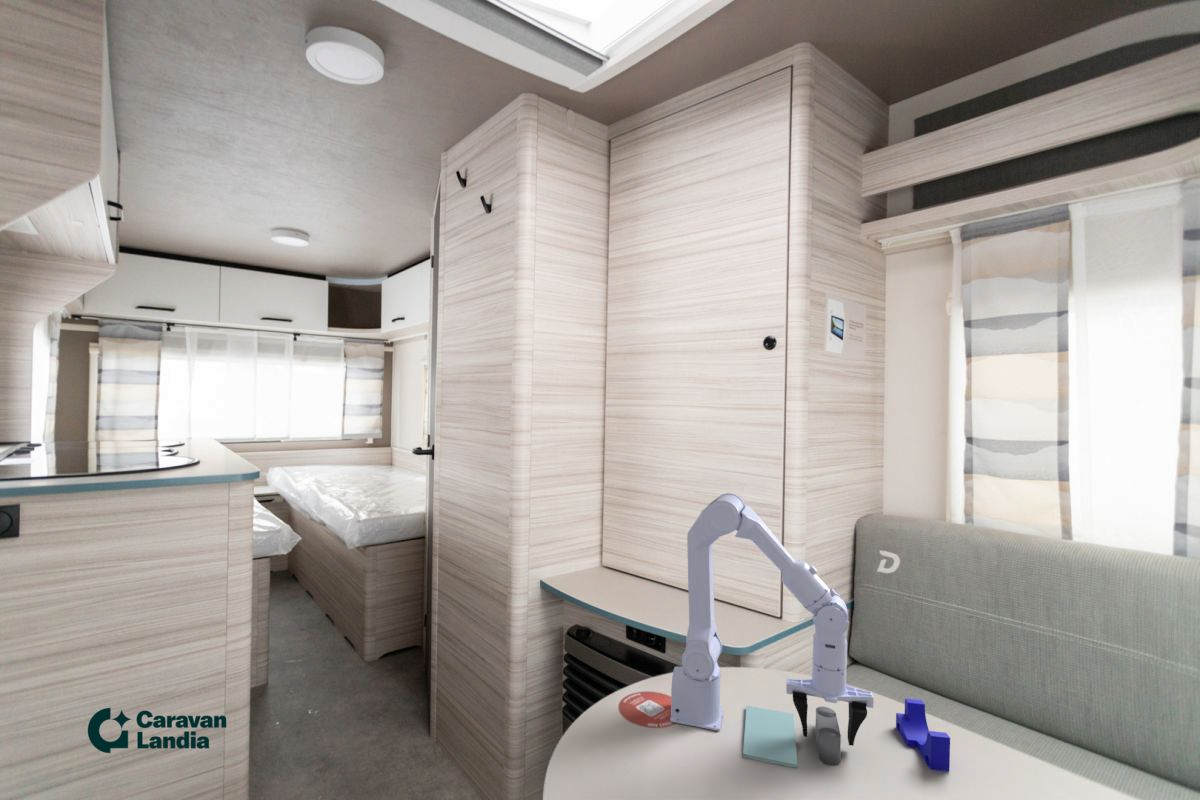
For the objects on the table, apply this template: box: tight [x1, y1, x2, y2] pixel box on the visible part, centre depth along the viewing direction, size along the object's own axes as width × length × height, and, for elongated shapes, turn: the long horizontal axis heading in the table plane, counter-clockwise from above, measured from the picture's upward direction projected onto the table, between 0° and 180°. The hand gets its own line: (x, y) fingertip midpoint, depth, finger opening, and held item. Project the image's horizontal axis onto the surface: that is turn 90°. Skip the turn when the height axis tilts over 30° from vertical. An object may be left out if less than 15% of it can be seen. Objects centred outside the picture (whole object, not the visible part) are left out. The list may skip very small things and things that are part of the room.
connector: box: [814, 706, 842, 766], centre depth 101 cm, size 4×12×4 cm, turn 163°
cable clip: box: [895, 697, 951, 773], centre depth 101 cm, size 12×4×6 cm, turn 170°
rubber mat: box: [742, 705, 799, 769], centre depth 103 cm, size 9×16×1 cm, turn 163°
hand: (827, 737), depth 100 cm, fingers open, 7 cm apart
